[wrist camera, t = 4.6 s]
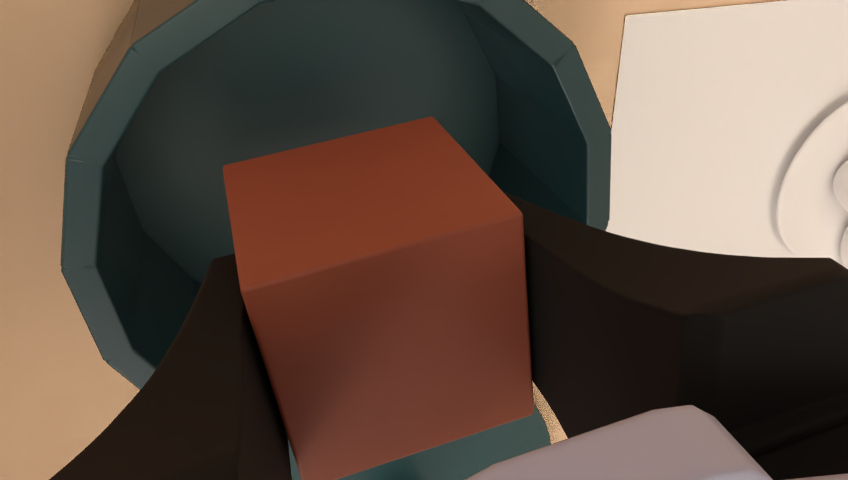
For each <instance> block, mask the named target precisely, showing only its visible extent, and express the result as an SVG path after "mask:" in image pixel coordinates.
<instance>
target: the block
mask: <svg viewBox="0 0 848 480" xmlns="http://www.w3.org/2000/svg"><path fill="white" fill-rule="evenodd" d="M223 176H224V183H225V189H226V196H227V203H228V210H229V217H230V223H231V230H232V237H233V244H234V251H235V257H236V264H237V271H238V278H239V284H240V291H241V294H242V297H243V300H244V304H245V307H246V310H247V313H248V316H249V319H250V322H251V325H252V328H253V331H254V334H255V338H256V341H257V344H258V347H259V350H260V353H261V356H262V359H263V362H264V365H265V369H266V372H267V375H268V378H269V381H270V384H271V387H272V390H273V393H274V396H275V399H276V403H277V406H278V409H279V412H280V415H281V418H282V421H283V424H284V427H285V430H286V433H287V437H288V440H289V443H290V446H291V449H292V452H293V455H294V458H295V461H296V464H297V467H298V471H299V474H300V477H301V480H337V479H340V478H343V477H346V476H349V475H352V474H355V473H358V472H361V471H364V470H367V469H370V468H373V467H376V466H379V465H382V464H385V463H388V462H391V461H394V460H397V459H400V458H403V457H406V456H409V455H412V454H415V453H418V452H421V451H424V450H427V449H430V448H433V447H436V446H439V445H442V444H445V443H448V442H451V441H454V440H457V439H461V438H464V437H467V436H470V435H473V434H476V433H479V432H482V431H485V430H488V429H491V428H494V427H497V426H500V425H503V424H506V423H509V422H512V421H515V420H518V419H521V418H524V417H527V416H530V415H532V414H533V413H534V402H533V385H532V368H531V350H530V333H529V315H528V298H527V280H526V263H525V245H524V228H523V214H522V212H521V211H520V210H519V209H518V208H517V207H516V206H515V204H514V203H513V202H512V201H511V200H510V199H509V198H508V197H507V196H506V195H505V194H504V193H503V192H502V190H501V189H500V188H499V187H498V186H497V185H496V184H495V183H494V182H493V181H492V180H491V179H490V177H489V176H488V175H487V174H486V173H485V172H484V171H483V170H482V169H481V168H480V167H479V166H478V165H477V163H476V162H475V161H474V160H473V159H472V158H471V157H470V156H469V155H468V154H467V153H466V152H465V151H464V149H463V148H462V147H461V146H460V145H459V144H458V143H457V142H456V141H455V140H454V139H453V138H452V136H451V135H450V134H449V133H448V132H447V131H446V130H445V129H444V128H443V127H442V126H441V125H440V124H439V122H438V121H437V120H436V119H435V118H434V117H431V116H430V117H426V118H422V119H418V120H414V121H409V122H405V123H401V124H397V125H392V126H388V127H384V128H380V129H375V130H371V131H367V132H363V133H359V134H354V135H350V136H346V137H342V138H337V139H333V140H329V141H325V142H320V143H316V144H312V145H308V146H304V147H299V148H295V149H291V150H287V151H282V152H278V153H274V154H270V155H265V156H261V157H257V158H253V159H249V160H244V161H240V162H236V163H232V164H227V165H225V166H223Z"/></svg>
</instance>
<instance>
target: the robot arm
mask: <svg viewBox="0 0 848 480" xmlns="http://www.w3.org/2000/svg"><path fill="white" fill-rule="evenodd" d="M502 192H503V191H502ZM503 193H504V194H505V195H506V196H507V197H508V198H509V199H510V200H511V201H512V202H513V203H514V204H515V206H516V207H517V208H518V209H519V210H520V211H521V212H522V214H523V228H524V245H525V263H526V280H527V298H528V315H529V333H530V350H531V368H532V381H533V382H534V383H535V385H536V386H537V388H538V389H539V390H540V392H541V393H542V395H543V396H544V398H545V399H546V401H547V402H548V404H549V406H550V407H551V409H552V410H553V412H554V413H555V415H556V417H557V419H558V421H559V423H560V424H561V426H562V428H563V430H564V432H565V434H566V435H567V437H568V439H565V440H563V441H560V442H557V443H554V444H551V445H548V446H545V447H542V448H539V449H536V450H533V451H530V452H527V453H524V454H522V455H519V456H516V457H513V458H510V459H507V460H504V461H501V462H498V463H495V464H493V465H491V466H489V467H487V468H485V469H484V470H482V471H480V472H478V473H476V474H474V475H473V476H471V477H469V478H467V479H465V480H848V269H847V268H845V267H844V266H842V265H841V264H839V263H838V262H836V261H835V260H833V259H831V258H792V257H753V256H739V255H726V254H716V253H707V252H700V251H693V250H687V249H680V248H674V247H668V246H663V245H658V244H653V243H649V242H645V241H640V240H636V239H632V238H628V237H624V236H620V235H617V234H613V233H610V232H606V231H603V230H600V229H597V228H594V227H591V226H588V225H585V224H582V223H579V222H577V221H574V220H571V219H569V218H566V217H563V216H561V215H558V214H556V213H553V212H551V211H548V210H546V209H543V208H541V207H539V206H536V205H534V204H531V203H529V202H527V201H524V200H522V199H520V198H517V197H515V196H512V195H510V194H508V193H505V192H503ZM49 480H292V475H291V465H290V454H289V444H288V437H287V433H286V430H285V427H284V424H283V421H282V418H281V415H280V412H279V409H278V406H277V403H276V399H275V396H274V393H273V390H272V387H271V384H270V381H269V378H268V375H267V372H266V369H265V365H264V362H263V359H262V356H261V353H260V350H259V347H258V344H257V341H256V338H255V334H254V331H253V328H252V325H251V322H250V319H249V316H248V313H247V310H246V307H245V304H244V300H243V297H242V294H241V291H240V284H239V278H238V271H237V264H236V257H235V254H231V255H227V256H223V257H219V258H215V259H213V260H212V262H211V263H210V265H209V266H208V269H207V272H206V274H205V277H204V280H203V282H202V285H201V287H200V289H199V292H198V294H197V296H196V299H195V301H194V303H193V305H192V307H191V309H190V311H189V313H188V315H187V317H186V319H185V321H184V323H183V325H182V327H181V329H180V331H179V332H178V334H177V336H176V338H175V339H174V341H173V343H172V344H171V346H170V348H169V349H168V351H167V353H166V355H165V356H164V358H163V359H162V361H161V362H160V364H159V365H158V367H157V368H156V370H155V371H154V373H153V374H152V376H151V377H150V378H149V380H148V381H147V382H146V384H145V385H144V386H143V388H142V389H141V390H140V391H139V392H138V394H137V395H136V396H135V397H134V398H133V399H132V401H131V402H130V403H129V404H128V405H127V406H126V407H125V408H124V409H123V410H122V412H121V413H120V414H119V415H118V416H117V417H116V418H115V419H114V420H113V421H112V423H111V424H110V425H109V426H108V427H107V428H106V429H105V430H104V431H103V432H102V433H101V434H100V435H99V436H98V437H97V438H96V439H95V440H94V441H93V442H92V443H91V444H90V445H88V446H87V447H86V448H85V449H84V450H83V451H82V452H81V453H80V454H79V455H77V456H76V457H75V458H74V459H73V460H72V461H71V462H70V463H68V464H67V465H66V466H65V467H64V468H63V469H61V470H60V471H59V472H58V473H57V474H55V475H54V476H53V477H52V478H51V479H49Z"/></svg>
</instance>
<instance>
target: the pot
mask: <svg viewBox="0 0 848 480" xmlns="http://www.w3.org/2000/svg"><path fill="white" fill-rule="evenodd" d="M430 116H431V117H434V118H435V119H436V120H437V121H438V122H439V124H440V125H441V126H442V127H443V128H444V129H445V130H446V131H447V132H448V133H449V134H450V135H451V136H452V138H453V139H454V140H455V141H456V142H457V143H458V144H459V145H460V146H461V147H462V148H463V149H464V151H465V152H466V153H467V154H468V155H469V156H470V157H471V158H472V159H473V160H474V161H475V162H476V163H477V165H478V166H479V167H480V168H481V169H482V170H483V171H484V172H485V173H486V174H487V175H488V176H489V177H490V179H491V180H492V181H493V182H494V183H495V184H496V185H497V186H498V187H499V188H500V189H501V190H502V191H503V192H505V193H508V194H510V195H512V196H515V197H517V198H520V199H522V200H524V201H527V202H529V203H531V204H534V205H536V206H539V207H541V208H543V209H546V210H548V211H551V212H553V213H556V214H558V215H561V216H563V217H566V218H569V219H571V220H574V221H577V222H579V223H582V224H585V225H588V226H591V227H594V228H597V229H600V230H603V231H606V229H607V226H608V221H609V220H610V181H611V137H612V135H611V128H610V126H609V124H608V121H607V119H606V117H605V114H604V112H603V110H602V107H601V105H600V102H599V100H598V98H597V95H596V93H595V91H594V88H593V86H592V83H591V81H590V79H589V76H588V74H587V72H586V69H585V67H584V64H583V62H582V60H581V57H580V55H579V53H578V50H577V48H576V46H575V45H574V43H573V42H572V41H571V40H570V39H569V38H568V37H566V36H565V35H564V34H563V33H562V32H561V31H559V30H558V29H557V28H556V27H555V26H554V25H553V24H551V23H550V22H549V21H548V20H547V19H546V18H544V17H543V16H542V15H541V14H540V13H539V12H537V11H536V10H535V9H534V8H533V7H532V6H531V5H529V4H528V3H527V2H526V1H525V0H135V1H134V3H133V5H132V7H131V8H130V10H129V12H128V14H127V15H126V17H125V19H124V20H123V22H122V23H121V25H120V26H119V28H118V30H117V32H116V34H115V36H114V38H113V40H112V42H111V43H110V45H109V47H108V49H107V50H106V52H105V54H104V56H103V57H102V59H101V61H100V63H99V64H98V66H97V68H96V70H95V72H94V75H93V78H92V81H91V84H90V87H89V90H88V93H87V96H86V99H85V102H84V105H83V108H82V111H81V114H80V117H79V120H78V123H77V126H76V129H75V132H74V135H73V138H72V141H71V144H70V147H69V150H68V153H67V156H66V162H65V183H64V204H63V225H62V246H61V267H62V269H61V271H62V273H63V276H64V278H65V280H66V282H67V284H68V286H69V288H70V290H71V292H72V294H73V297H74V299H75V301H76V303H77V305H78V307H79V309H80V311H81V313H82V316H83V318H84V320H85V322H86V324H87V326H88V328H89V330H90V332H91V335H92V337H93V339H94V341H95V343H96V345H97V347H98V349H99V351H100V353H101V356H102V358H103V360H104V361H106V362H107V363H108V364H109V365H110V366H111V367H112V368H114V369H115V370H116V371H117V372H119V373H120V374H121V375H122V376H124V377H125V378H126V379H127V380H129V381H130V382H131V383H132V384H134V385H135V386H136V387H137V388H138V389H140V390H141V389H142V388H143V386H144V385H145V384H146V382H147V381H148V380H149V378H150V377H151V376H152V374H153V373H154V371H155V370H156V368H157V367H158V365H159V364H160V362H161V361H162V359H163V358H164V356H165V355H166V353H167V351H168V349H169V348H170V346H171V344H172V343H173V341H174V339H175V338H176V336H177V334H178V332H179V331H180V329H181V327H182V325H183V323H184V321H185V319H186V317H187V315H188V313H189V311H190V309H191V307H192V305H193V303H194V301H195V299H196V296H197V294H198V292H199V289H200V287H201V285H202V282H203V280H204V277H205V274H206V272H207V269H208V266H209V265H210V263H211V262H212V260H213V259H215V258H219V257H223V256H227V255H231V254H235V251H234V244H233V237H232V230H231V223H230V217H229V210H228V203H227V196H226V189H225V183H224V176H223V166H225V165H227V164H232V163H236V162H240V161H244V160H249V159H253V158H257V157H261V156H265V155H270V154H274V153H278V152H282V151H287V150H291V149H295V148H299V147H304V146H308V145H312V144H316V143H320V142H325V141H329V140H333V139H337V138H342V137H346V136H350V135H354V134H359V133H363V132H367V131H371V130H375V129H380V128H384V127H388V126H392V125H397V124H401V123H405V122H409V121H414V120H418V119H422V118H426V117H430ZM288 444H289V448H291V446H290V443H289V440H288Z"/></svg>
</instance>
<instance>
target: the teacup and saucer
mask: <svg viewBox="0 0 848 480" xmlns="http://www.w3.org/2000/svg"><path fill="white" fill-rule="evenodd" d="M776 227H777V231H778V234H779V237H780V239H781V241H782V243H783V244H784V246H785V247H786V248H787V249H788V250H789V251H790V252H791V253H792V254H793V255H794V256H796V257H797V258H831V259H833V260H835V261H838V260H841V262H842V264H843V266H844V267H845V268H847V269H848V100H847V101H846V102H844V103H843V104H842V105H840V106H839V107H838V108H836V109H835V110H834V111H833V112H831V113H830V114H829V115H828V116H827V117H826V118H825V119H824V120H823V121H822V122H821V123H820V124H819V125H818V126H817V127H816V128H815V129H814V130H813V131H812V132H811V133H810V135H809V136H808V137H807V138H806V140H805V141H804V142H803V144H802V145H801V146H800V148H799V149H798V151H797V152H796V154H795V156H794V157H793V159H792V161H791V163H790V164H789V166H788V168H787V171H786V173H785V175H784V178H783V180H782V183H781V186H780V189H779V193H778V197H777V203H776Z"/></svg>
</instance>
